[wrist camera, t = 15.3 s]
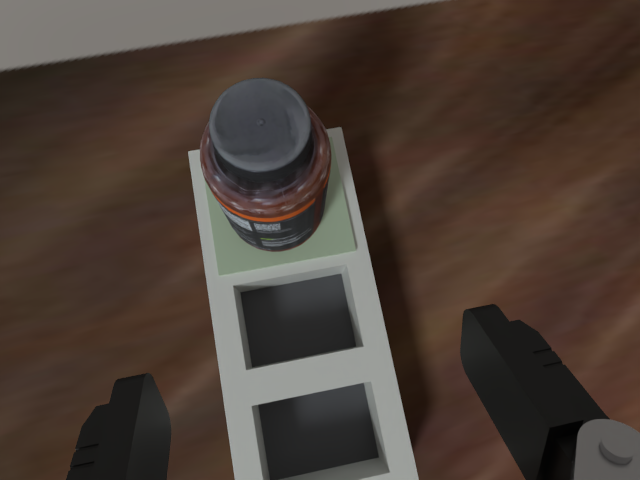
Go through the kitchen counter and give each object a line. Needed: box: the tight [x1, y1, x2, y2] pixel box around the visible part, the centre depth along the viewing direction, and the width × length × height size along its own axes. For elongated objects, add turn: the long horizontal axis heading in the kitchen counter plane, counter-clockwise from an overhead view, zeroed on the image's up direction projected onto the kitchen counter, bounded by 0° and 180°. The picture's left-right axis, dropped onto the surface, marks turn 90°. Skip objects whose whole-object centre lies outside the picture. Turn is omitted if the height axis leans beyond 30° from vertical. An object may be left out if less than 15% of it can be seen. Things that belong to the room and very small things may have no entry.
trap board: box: [188, 127, 419, 480], centre depth 30 cm, size 10×22×4 cm, turn 11°
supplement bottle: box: [200, 78, 331, 252], centre depth 24 cm, size 6×6×11 cm
